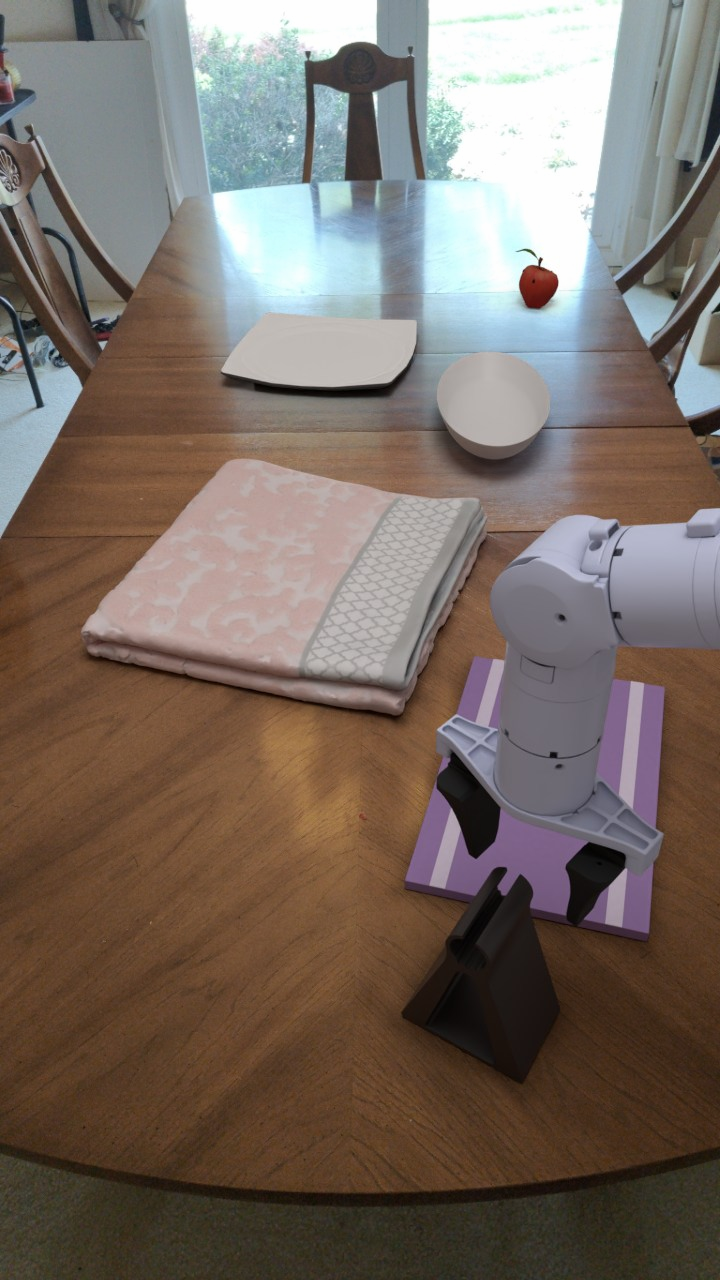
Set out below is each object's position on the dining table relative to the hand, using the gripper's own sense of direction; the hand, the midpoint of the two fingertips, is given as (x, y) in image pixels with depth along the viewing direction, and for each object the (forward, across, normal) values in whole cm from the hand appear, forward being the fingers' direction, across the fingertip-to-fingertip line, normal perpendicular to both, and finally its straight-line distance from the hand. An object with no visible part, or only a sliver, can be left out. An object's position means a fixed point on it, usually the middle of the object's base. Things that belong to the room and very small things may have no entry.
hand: (529, 879), depth 62 cm
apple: (+11, +77, -112) cm, 136 cm away
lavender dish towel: (+10, +9, -17) cm, 22 cm away
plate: (+11, +88, -70) cm, 113 cm away
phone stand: (+11, 0, +4) cm, 11 cm away
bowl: (+11, +52, -66) cm, 85 cm away
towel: (+11, +45, -23) cm, 52 cm away
